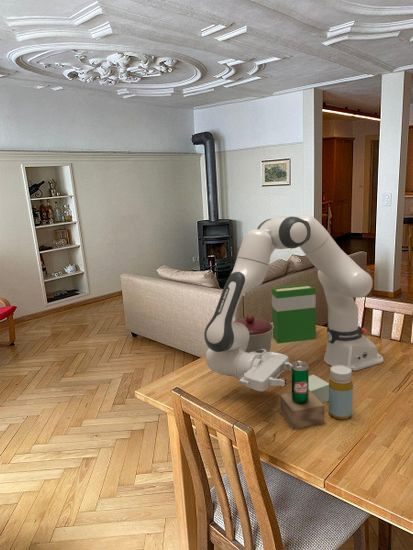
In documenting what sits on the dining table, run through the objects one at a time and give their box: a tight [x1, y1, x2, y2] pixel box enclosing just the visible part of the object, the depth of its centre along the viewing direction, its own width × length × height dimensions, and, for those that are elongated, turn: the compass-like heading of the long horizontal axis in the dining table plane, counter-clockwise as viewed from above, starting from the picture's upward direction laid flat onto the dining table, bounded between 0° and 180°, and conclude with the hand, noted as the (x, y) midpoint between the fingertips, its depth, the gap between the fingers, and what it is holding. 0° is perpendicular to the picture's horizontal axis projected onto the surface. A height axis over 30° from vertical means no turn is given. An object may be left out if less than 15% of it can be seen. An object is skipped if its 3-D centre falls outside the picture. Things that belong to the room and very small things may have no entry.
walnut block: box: [279, 390, 325, 430], centre depth 126 cm, size 10×10×6 cm
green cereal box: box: [271, 283, 317, 345], centre depth 185 cm, size 18×7×24 cm, turn 98°
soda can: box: [290, 360, 310, 404], centre depth 124 cm, size 5×5×12 cm
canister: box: [233, 314, 274, 353], centre depth 161 cm, size 18×18×21 cm
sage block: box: [309, 374, 329, 404], centre depth 136 cm, size 8×8×6 cm
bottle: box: [328, 365, 354, 420], centre depth 125 cm, size 7×7×15 cm
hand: (291, 376), depth 125 cm, fingers open, 8 cm apart
